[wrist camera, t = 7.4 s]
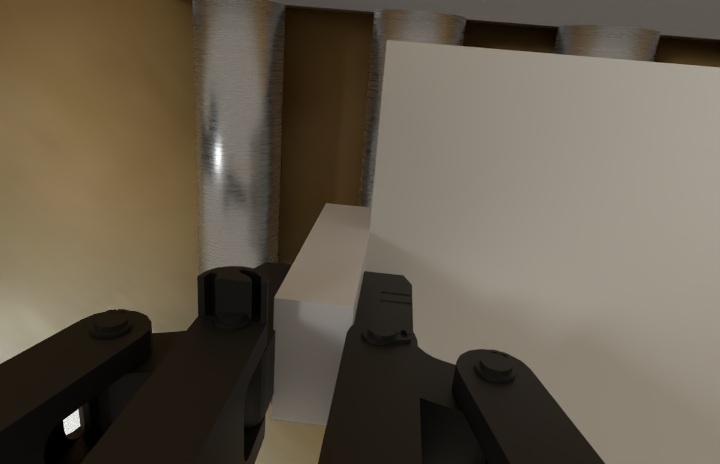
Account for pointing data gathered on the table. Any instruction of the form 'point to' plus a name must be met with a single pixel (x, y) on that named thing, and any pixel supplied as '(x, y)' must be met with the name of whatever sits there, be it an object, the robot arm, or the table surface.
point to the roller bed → (391, 22)
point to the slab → (562, 231)
